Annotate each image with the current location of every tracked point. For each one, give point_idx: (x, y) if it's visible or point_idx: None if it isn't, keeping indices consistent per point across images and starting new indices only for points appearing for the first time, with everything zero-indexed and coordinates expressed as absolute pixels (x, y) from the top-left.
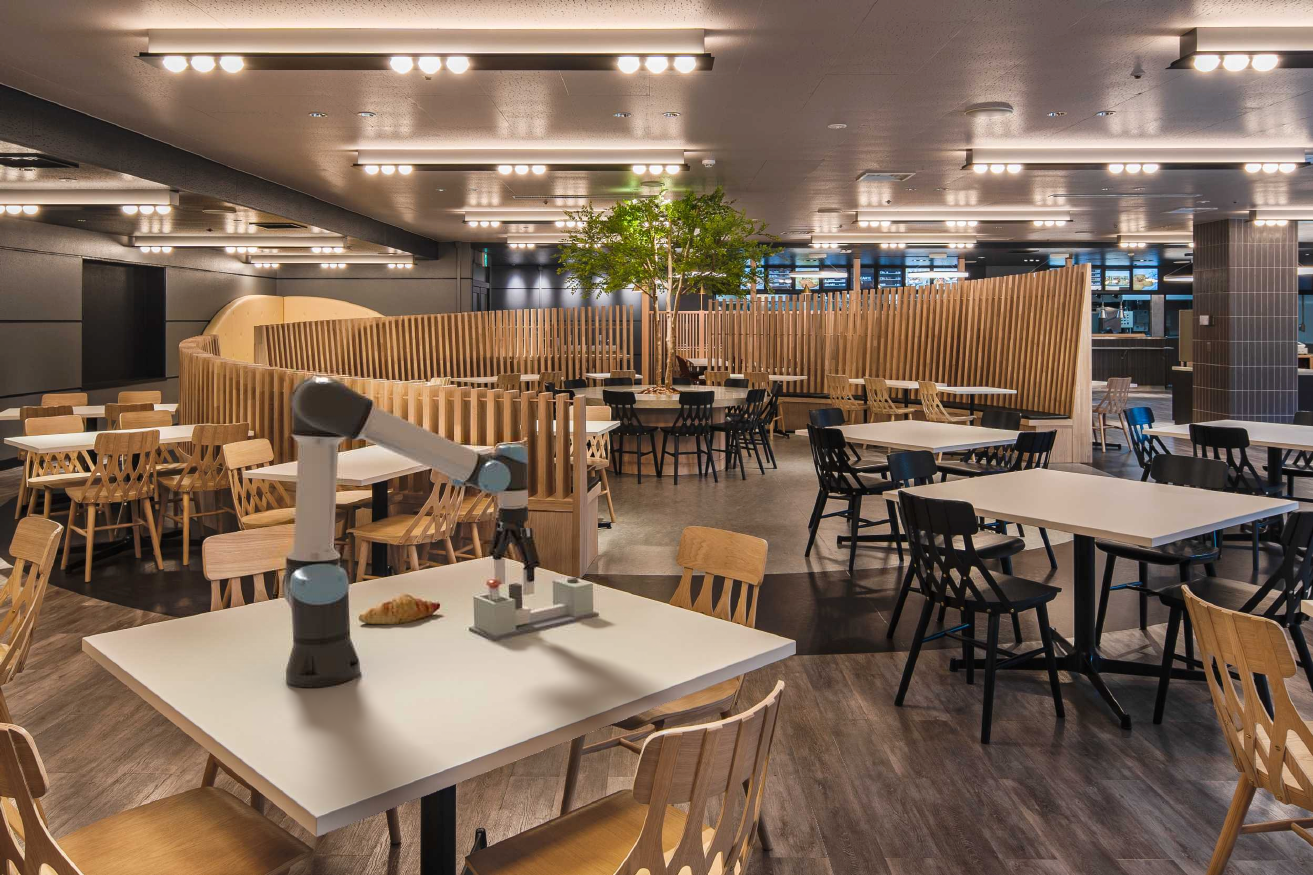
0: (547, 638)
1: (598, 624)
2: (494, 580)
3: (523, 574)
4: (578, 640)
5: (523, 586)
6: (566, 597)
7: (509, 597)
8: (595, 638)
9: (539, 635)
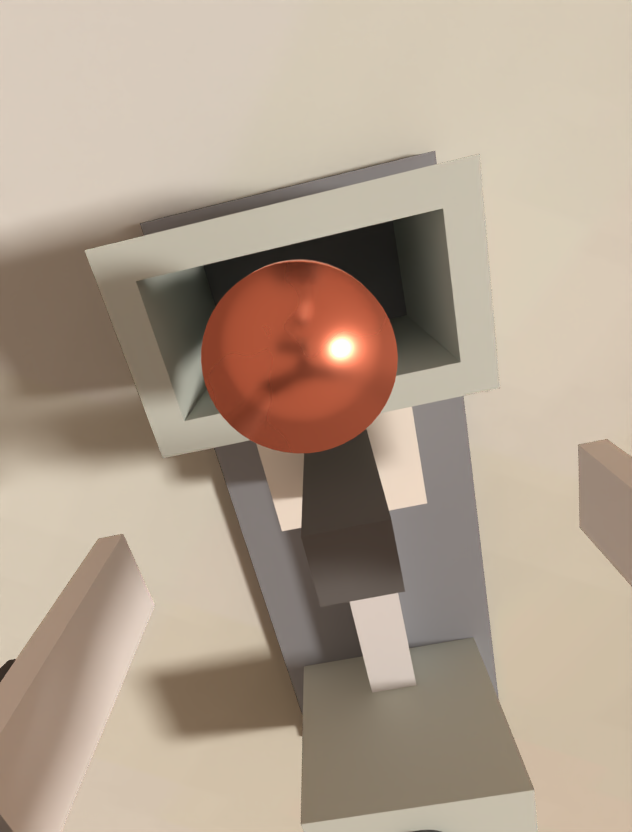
0: (89, 480)
1: (201, 699)
2: (322, 382)
3: (16, 699)
4: (12, 574)
5: (89, 585)
6: (374, 731)
7: (370, 463)
8: (17, 632)
9: (151, 465)
